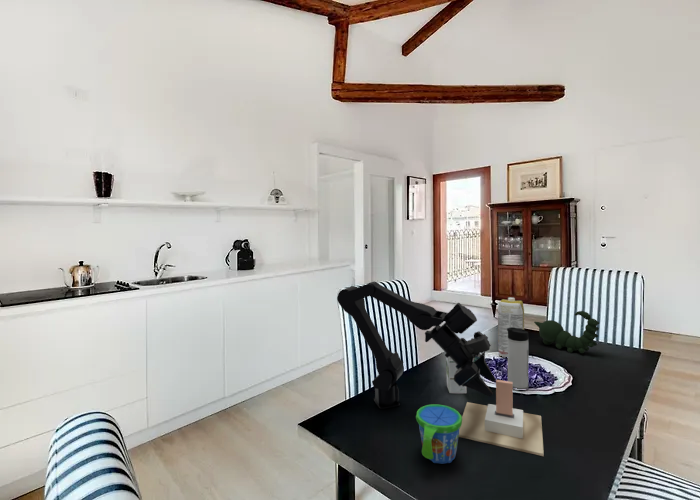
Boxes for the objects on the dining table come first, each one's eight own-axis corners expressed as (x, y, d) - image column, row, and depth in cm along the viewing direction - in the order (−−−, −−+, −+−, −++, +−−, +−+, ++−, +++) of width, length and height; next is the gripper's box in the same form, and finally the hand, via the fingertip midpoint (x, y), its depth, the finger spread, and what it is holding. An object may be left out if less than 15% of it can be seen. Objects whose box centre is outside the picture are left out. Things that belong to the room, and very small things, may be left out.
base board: (456, 436, 93) (456, 434, 93) (467, 403, 109) (467, 402, 109) (543, 456, 84) (543, 453, 84) (541, 417, 100) (541, 415, 100)
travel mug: (503, 383, 121) (502, 326, 120) (521, 382, 122) (521, 325, 120) (513, 392, 115) (512, 331, 114) (532, 390, 116) (532, 330, 114)
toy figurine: (598, 357, 145) (538, 337, 165) (604, 313, 142) (542, 297, 162) (587, 363, 139) (526, 341, 160) (593, 317, 137) (530, 300, 157)
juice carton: (524, 354, 146) (524, 297, 144) (522, 361, 139) (522, 301, 138) (500, 351, 151) (500, 295, 149) (497, 357, 144) (496, 299, 143)
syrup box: (467, 393, 115) (466, 350, 114) (448, 393, 116) (447, 350, 115) (463, 385, 121) (462, 344, 120) (445, 385, 121) (445, 344, 120)
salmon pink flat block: (496, 413, 96) (495, 381, 95) (496, 410, 97) (496, 379, 96) (512, 416, 94) (512, 384, 93) (512, 414, 95) (512, 382, 95)
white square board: (484, 430, 94) (484, 419, 94) (488, 413, 102) (488, 403, 102) (522, 438, 90) (522, 426, 90) (523, 420, 98) (523, 409, 98)
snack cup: (434, 432, 95) (433, 395, 94) (473, 447, 88) (472, 407, 87) (403, 463, 83) (402, 421, 82) (445, 483, 76) (444, 438, 76)
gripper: (466, 335, 89) (514, 385, 85) (475, 317, 106) (517, 357, 102) (435, 361, 93) (480, 410, 89) (449, 340, 110) (488, 380, 106)
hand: (493, 387), depth 96 cm, fingers open, 9 cm apart
